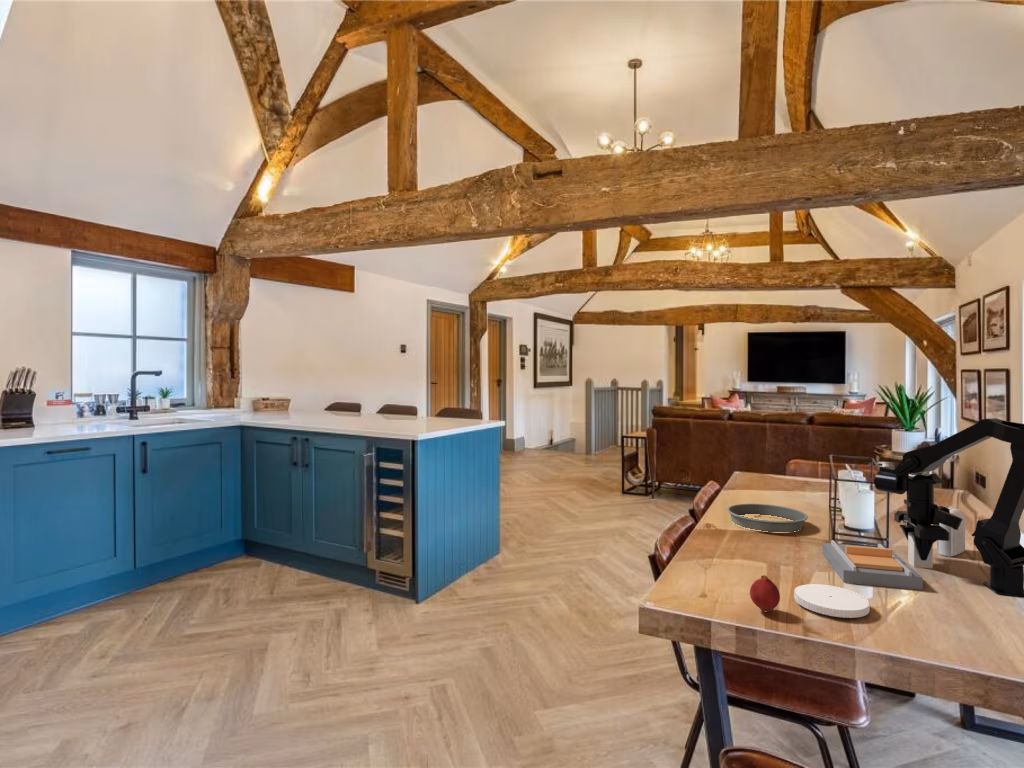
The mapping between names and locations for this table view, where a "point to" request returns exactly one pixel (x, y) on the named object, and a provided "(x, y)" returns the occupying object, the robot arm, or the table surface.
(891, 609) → the table surface
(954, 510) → the photo printer
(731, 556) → the table surface
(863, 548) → the shutter
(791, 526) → the cake pan
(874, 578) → the socket plate
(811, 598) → the plastic lid
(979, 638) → the table surface
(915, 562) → the plug
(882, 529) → the table surface
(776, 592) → the onion
